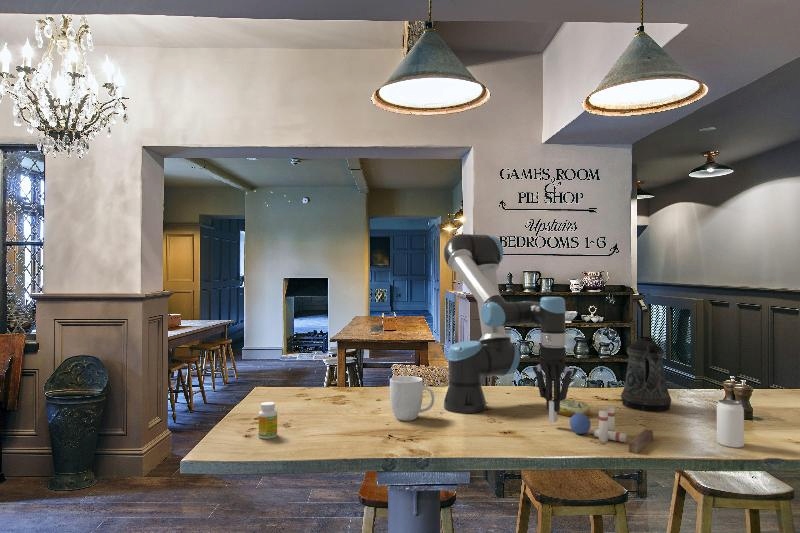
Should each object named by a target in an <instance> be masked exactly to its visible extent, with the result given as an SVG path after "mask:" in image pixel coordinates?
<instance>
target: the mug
mask: <svg viewBox="0 0 800 533" xmlns="http://www.w3.org/2000/svg"><path fill="white" fill-rule="evenodd" d="M423 381H424V380H423V378H422V377H419V376H415V375H414V376H412V375H400V376H399V375H397V376H393V377H391V378H390V379H389V399H390V406H391V410H392V413H393V414H394V415H393V416H394V417H395V418H396V419H397V420H399V421H405V422H406V421H409V422H410V421H414V420H416V419H417V418H418V416H419V414H420V413H425V412H426V411H429V410H430V409H432V408H433V406H434V403H435V394H434V392H433V390H432V389H431V388H430V387H429V386H425V385H423V384H424V382H423ZM424 390H426V391H428V392H429V393H430V395H431V401H430V404H429V405H428V406H427V407H425V408H422V403H423V395H424Z"/></svg>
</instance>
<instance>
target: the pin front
mask: <svg viewBox="0 0 800 533" xmlns="http://www.w3.org/2000/svg"><path fill="white" fill-rule="evenodd" d="M593 436H594V438H599V428H595V429H594V432H593ZM627 438H628V435H627V434H626V433H622V432H618V431H615V432H612V431H608V441H609V440H610V441H615V442H619V443H627V441H628V439H627Z"/></svg>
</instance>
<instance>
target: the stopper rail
mask: <svg viewBox="0 0 800 533" xmlns="http://www.w3.org/2000/svg"><path fill="white" fill-rule="evenodd" d="M653 440H654V430H652V429H647V428H646V429H644V430H643V431H641V432H640V433H639V434H637V435H636V437H634V438H633V439H632V440H631V441H629V442H628V453H632V454H635V455H637V454H638V453H639V452H640V451H642V450H643V449H644V448H645V447H646V446H647V445H648V444H649V443H651V441H653Z"/></svg>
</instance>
